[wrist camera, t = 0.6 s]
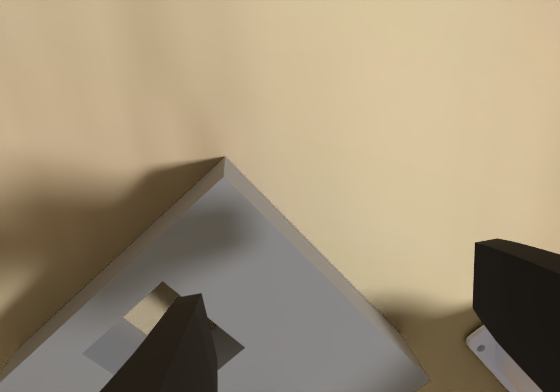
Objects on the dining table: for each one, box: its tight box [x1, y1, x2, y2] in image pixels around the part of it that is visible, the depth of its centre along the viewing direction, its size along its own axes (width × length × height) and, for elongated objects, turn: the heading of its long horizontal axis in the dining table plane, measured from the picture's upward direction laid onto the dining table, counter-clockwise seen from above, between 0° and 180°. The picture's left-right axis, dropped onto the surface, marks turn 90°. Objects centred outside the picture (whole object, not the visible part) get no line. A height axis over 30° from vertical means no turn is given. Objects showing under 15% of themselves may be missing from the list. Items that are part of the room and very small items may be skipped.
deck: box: [0, 157, 430, 392], centre depth 20 cm, size 15×15×4 cm
